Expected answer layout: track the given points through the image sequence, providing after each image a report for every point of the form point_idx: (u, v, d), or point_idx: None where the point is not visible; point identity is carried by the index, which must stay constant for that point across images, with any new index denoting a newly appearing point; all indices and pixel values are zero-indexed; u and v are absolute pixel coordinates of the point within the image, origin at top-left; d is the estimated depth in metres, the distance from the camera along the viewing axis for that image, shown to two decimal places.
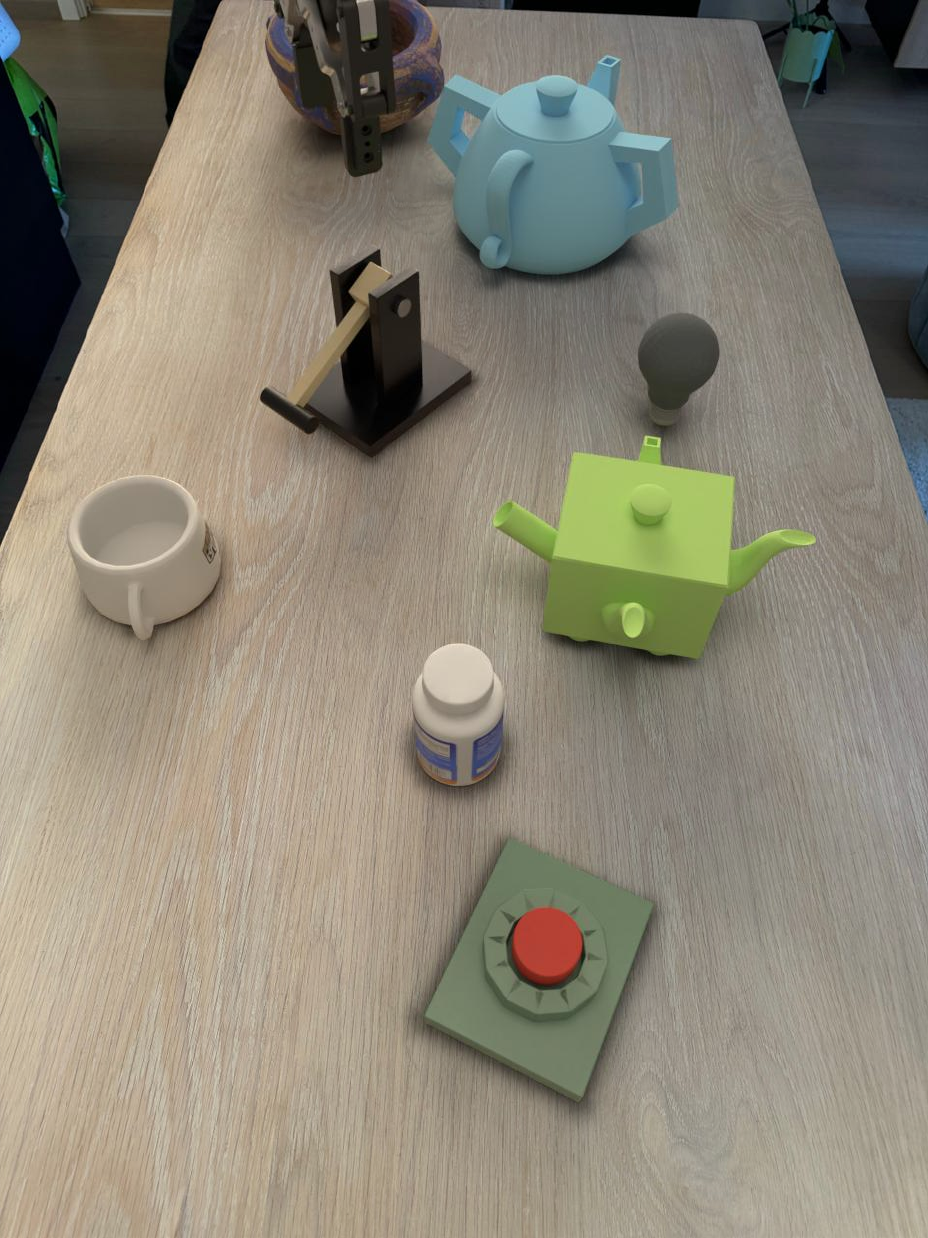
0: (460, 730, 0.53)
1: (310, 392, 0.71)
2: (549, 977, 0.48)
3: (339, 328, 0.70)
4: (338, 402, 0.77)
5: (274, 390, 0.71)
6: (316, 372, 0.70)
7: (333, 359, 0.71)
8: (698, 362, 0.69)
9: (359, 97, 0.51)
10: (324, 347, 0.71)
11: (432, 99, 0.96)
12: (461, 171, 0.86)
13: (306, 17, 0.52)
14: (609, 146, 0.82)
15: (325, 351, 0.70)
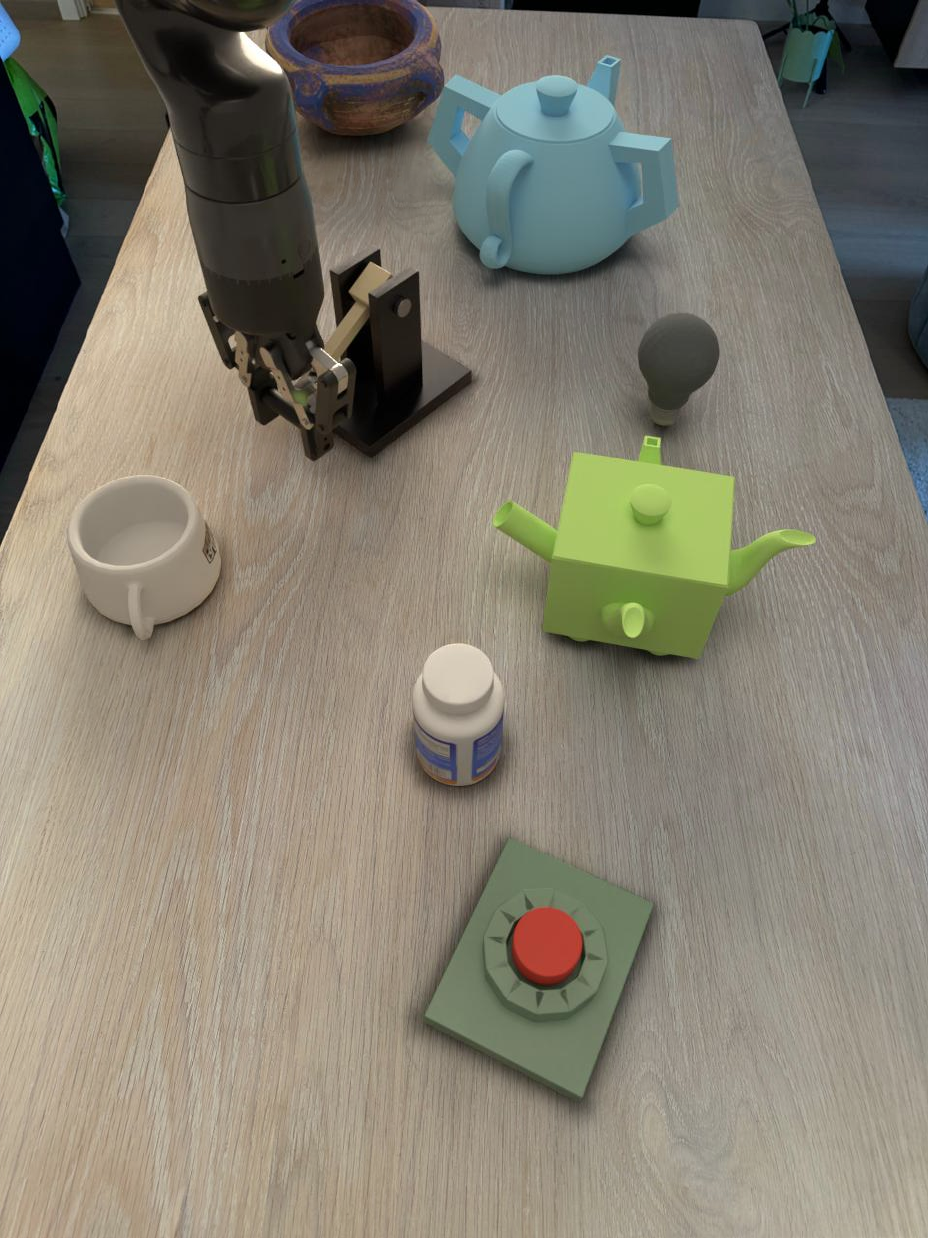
0: (460, 730, 0.53)
1: None
2: (549, 977, 0.48)
3: (340, 328, 0.70)
4: None
5: (274, 390, 0.71)
6: None
7: None
8: (698, 362, 0.69)
9: (331, 423, 0.66)
10: (324, 347, 0.71)
11: (432, 99, 0.96)
12: (461, 171, 0.86)
13: (271, 368, 0.65)
14: (609, 146, 0.82)
15: (325, 351, 0.70)
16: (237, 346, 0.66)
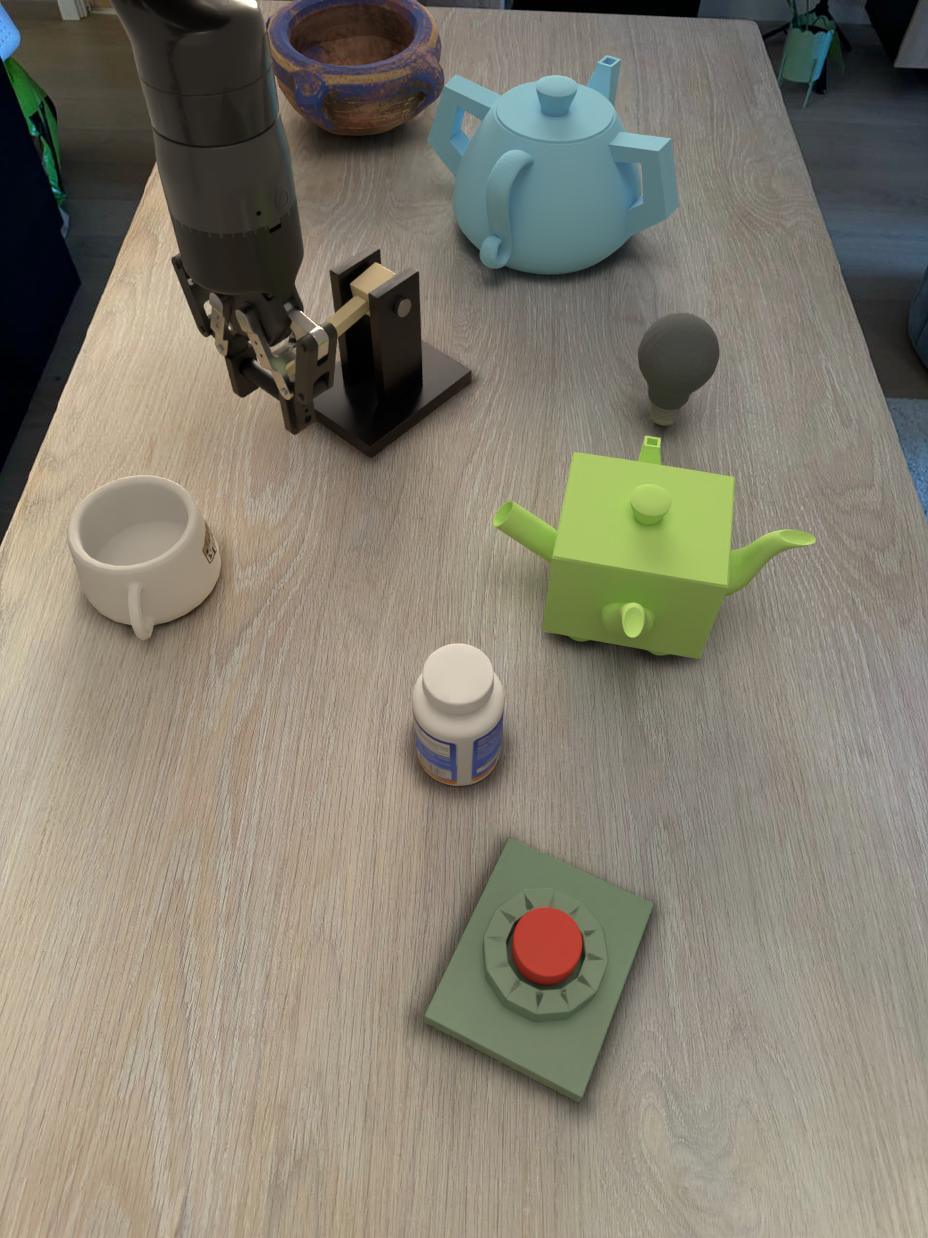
0: (460, 730, 0.53)
1: None
2: (549, 977, 0.48)
3: (335, 315, 0.69)
4: (338, 402, 0.77)
5: (257, 362, 0.68)
6: None
7: None
8: (698, 362, 0.69)
9: (311, 392, 0.62)
10: None
11: (432, 99, 0.96)
12: (461, 171, 0.86)
13: (248, 333, 0.61)
14: (609, 146, 0.82)
15: None
16: (212, 310, 0.63)
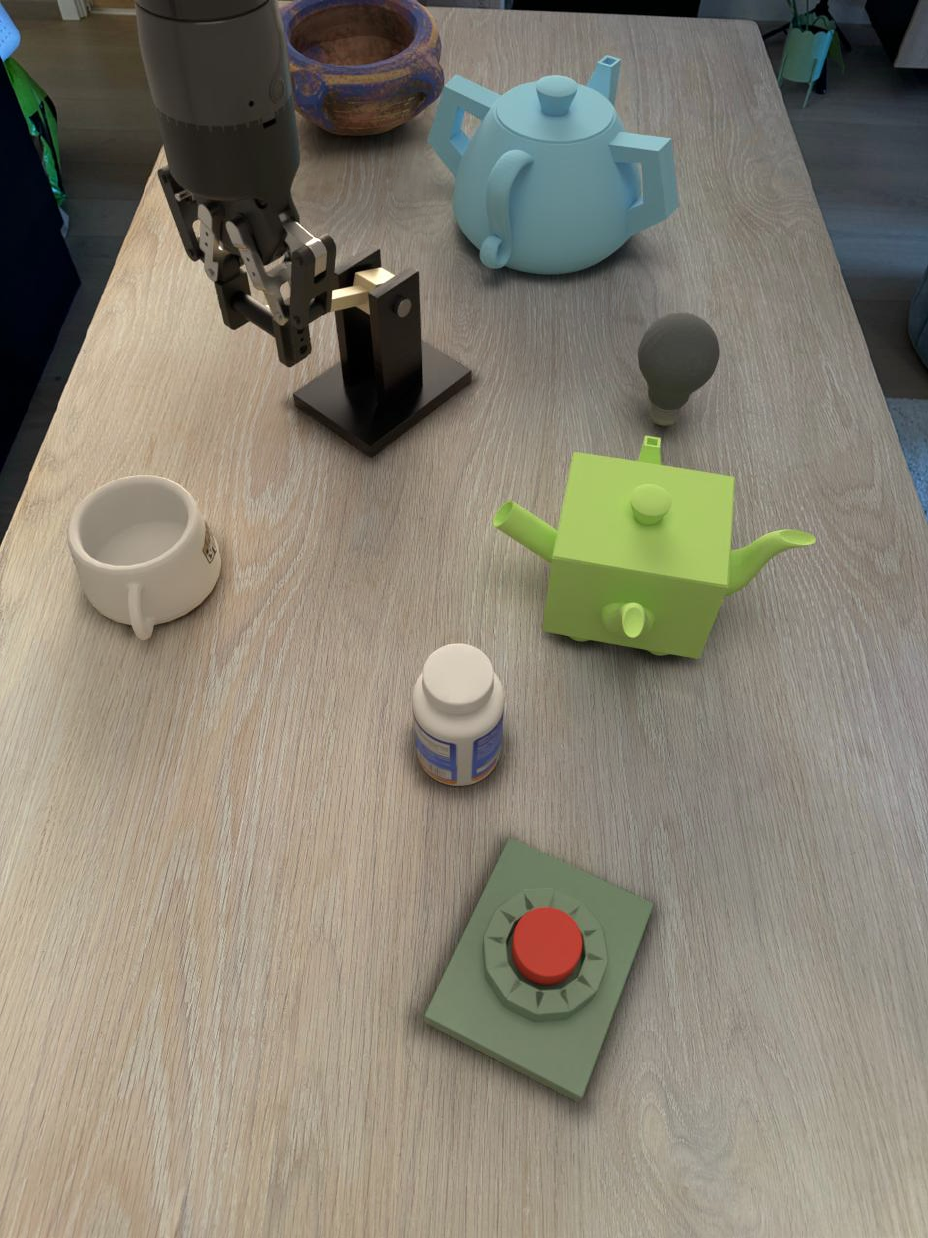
0: (460, 730, 0.53)
1: None
2: (549, 977, 0.48)
3: (337, 291, 0.68)
4: (338, 402, 0.77)
5: None
6: None
7: None
8: (698, 362, 0.69)
9: (307, 314, 0.58)
10: None
11: (432, 99, 0.96)
12: (461, 171, 0.86)
13: (239, 248, 0.57)
14: (609, 146, 0.82)
15: None
16: (201, 226, 0.58)
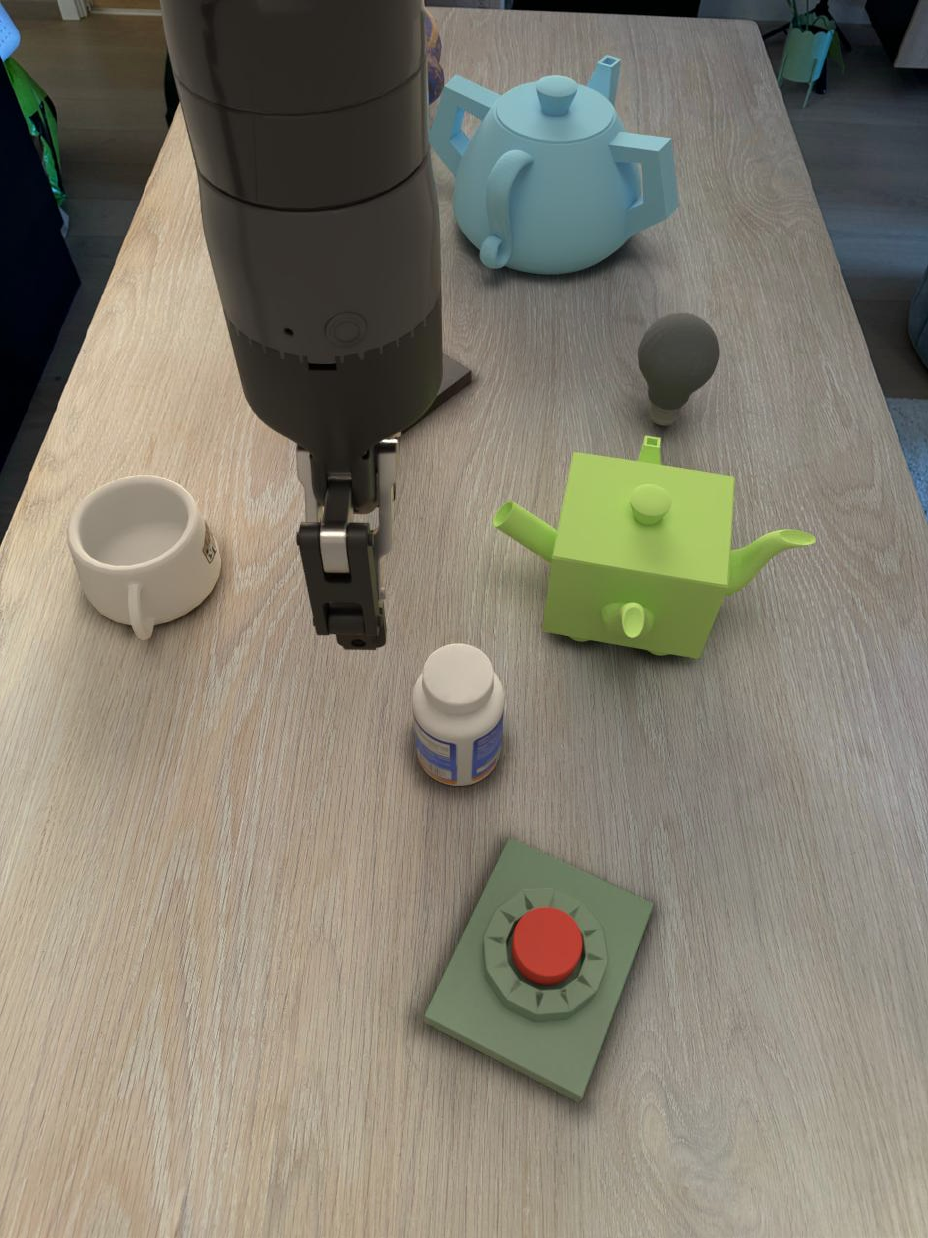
0: (460, 730, 0.53)
1: None
2: (549, 977, 0.48)
3: None
4: None
5: None
6: None
7: None
8: (698, 362, 0.69)
9: (322, 620, 0.36)
10: None
11: (432, 99, 0.96)
12: (461, 171, 0.86)
13: None
14: (609, 146, 0.82)
15: None
16: None
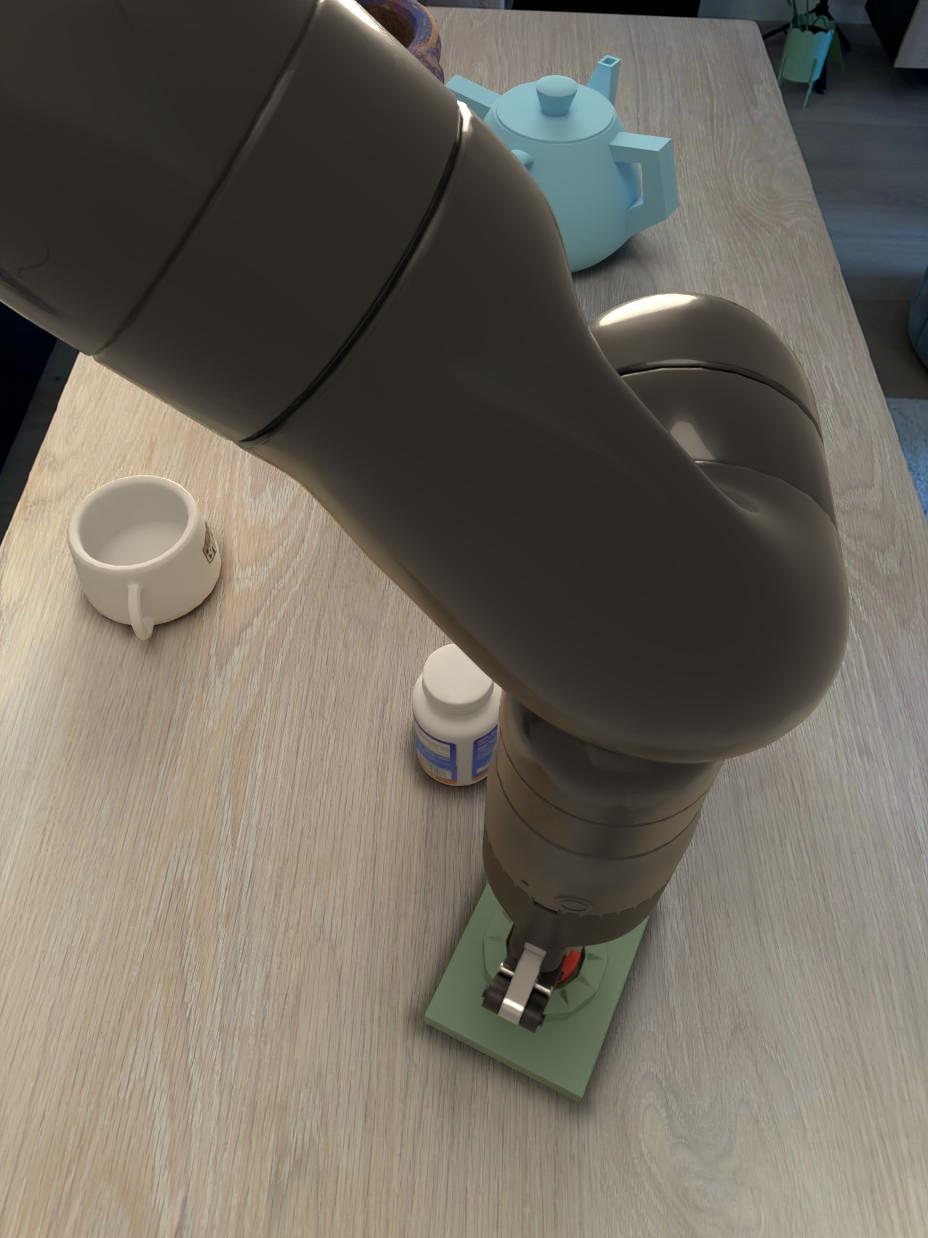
0: (460, 730, 0.53)
1: None
2: None
3: None
4: None
5: None
6: None
7: None
8: None
9: None
10: None
11: None
12: None
13: None
14: (609, 146, 0.82)
15: None
16: None
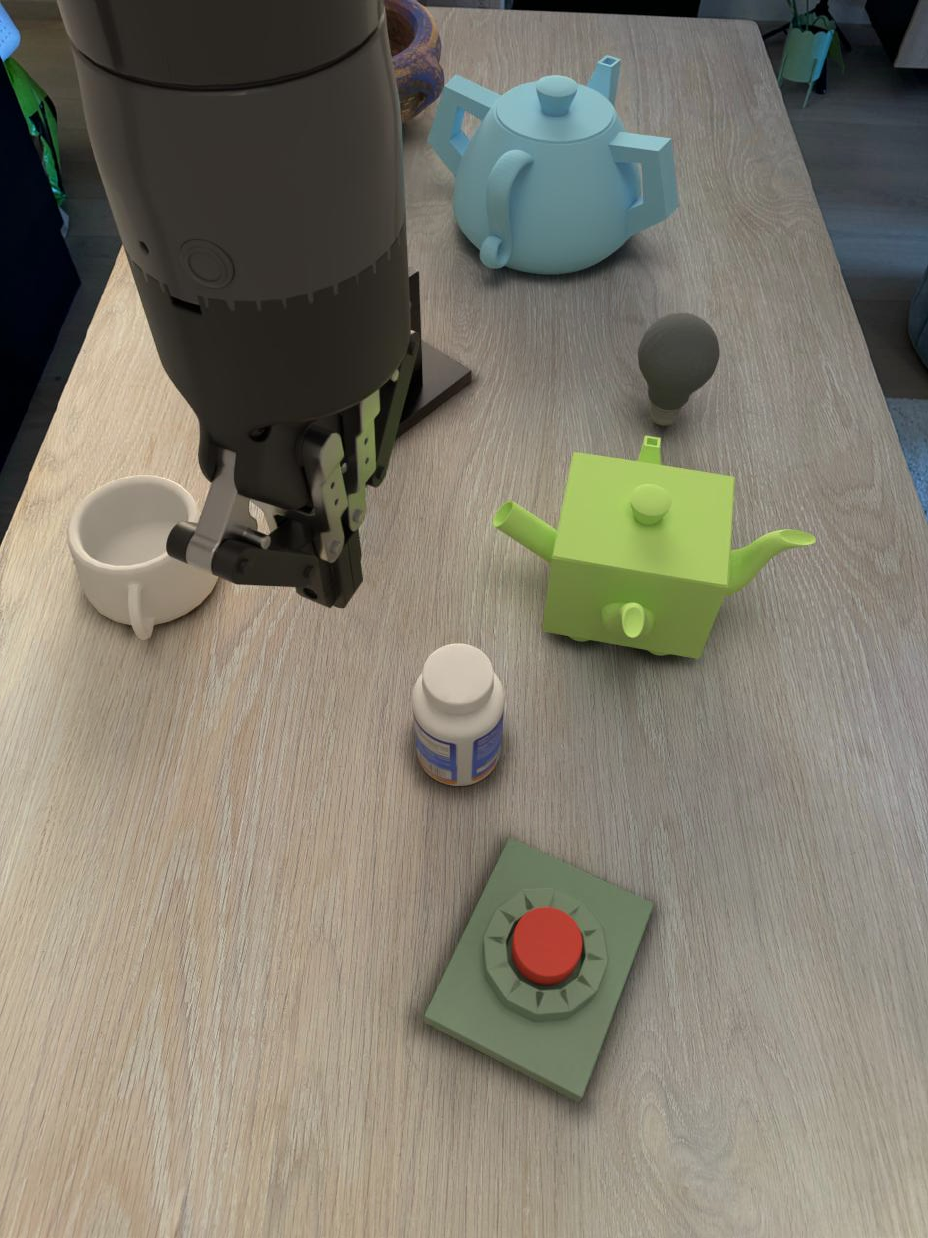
0: (460, 730, 0.53)
1: None
2: (549, 977, 0.48)
3: None
4: None
5: None
6: None
7: None
8: (698, 362, 0.69)
9: None
10: None
11: (432, 99, 0.96)
12: (461, 171, 0.86)
13: None
14: (609, 146, 0.82)
15: None
16: None
